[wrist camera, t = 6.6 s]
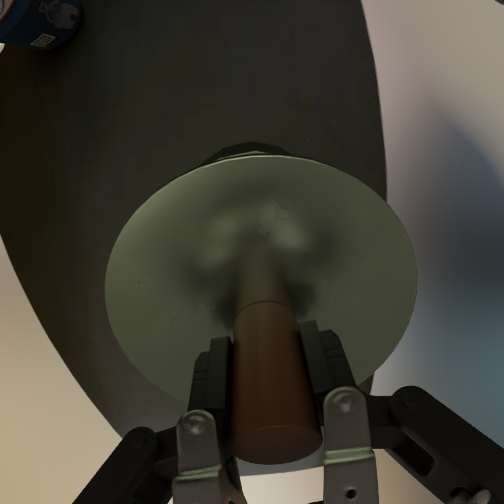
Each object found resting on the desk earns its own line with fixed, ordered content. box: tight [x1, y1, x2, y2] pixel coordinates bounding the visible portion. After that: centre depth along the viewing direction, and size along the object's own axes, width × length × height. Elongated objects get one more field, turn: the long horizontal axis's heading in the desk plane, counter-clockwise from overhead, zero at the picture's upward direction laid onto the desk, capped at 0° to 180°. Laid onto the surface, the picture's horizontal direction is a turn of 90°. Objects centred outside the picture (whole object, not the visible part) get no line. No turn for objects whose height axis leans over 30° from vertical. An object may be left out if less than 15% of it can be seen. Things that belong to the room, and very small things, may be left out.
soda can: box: [0, 0, 81, 50], centre depth 15 cm, size 7×7×12 cm
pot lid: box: [105, 153, 417, 465], centre depth 11 cm, size 15×15×7 cm
